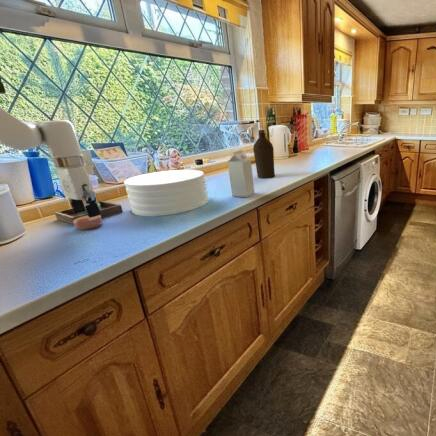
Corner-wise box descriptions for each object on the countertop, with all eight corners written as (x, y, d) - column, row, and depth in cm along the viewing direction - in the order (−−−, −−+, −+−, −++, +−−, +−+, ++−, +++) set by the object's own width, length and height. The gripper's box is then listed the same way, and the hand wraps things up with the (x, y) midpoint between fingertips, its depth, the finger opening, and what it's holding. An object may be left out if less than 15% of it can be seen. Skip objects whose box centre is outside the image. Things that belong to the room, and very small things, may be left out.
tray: (74, 225, 102) (72, 217, 101) (56, 219, 108) (54, 212, 107) (122, 211, 115) (120, 204, 114) (104, 207, 121) (102, 200, 120)
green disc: (83, 218, 107) (81, 210, 106) (73, 215, 110) (71, 207, 109) (106, 212, 113) (104, 204, 112) (96, 209, 116) (94, 202, 115)
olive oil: (278, 177, 165) (274, 129, 157) (259, 179, 161) (253, 131, 152) (272, 173, 174) (268, 128, 166) (254, 176, 170) (249, 130, 161)
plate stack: (222, 200, 125) (218, 173, 121) (155, 221, 104) (147, 188, 100) (184, 192, 140) (179, 167, 136) (118, 208, 119) (110, 180, 115)
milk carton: (232, 196, 130) (225, 152, 124) (240, 192, 137) (234, 149, 130) (247, 197, 128) (241, 152, 122) (254, 193, 135) (249, 149, 128)
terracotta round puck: (82, 232, 96) (79, 223, 95) (71, 228, 99) (68, 220, 98) (107, 224, 102) (105, 216, 101) (96, 221, 105) (94, 213, 104)
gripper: (42, 162, 94) (61, 214, 100) (67, 165, 86) (87, 221, 92) (70, 158, 100) (87, 207, 106) (97, 161, 92) (113, 214, 98)
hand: (87, 214), depth 99 cm, fingers open, 9 cm apart
